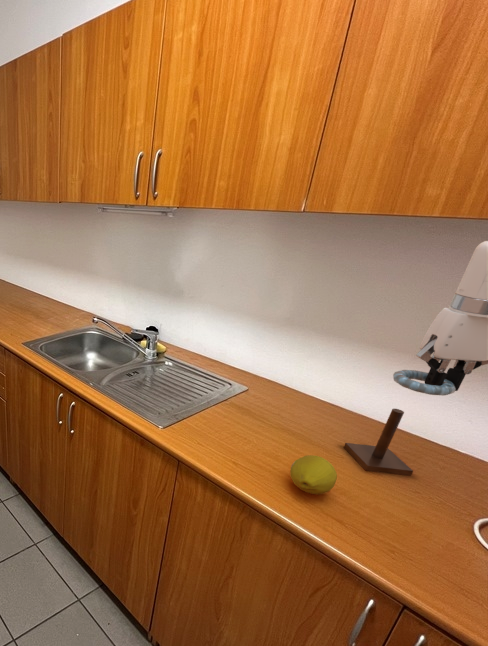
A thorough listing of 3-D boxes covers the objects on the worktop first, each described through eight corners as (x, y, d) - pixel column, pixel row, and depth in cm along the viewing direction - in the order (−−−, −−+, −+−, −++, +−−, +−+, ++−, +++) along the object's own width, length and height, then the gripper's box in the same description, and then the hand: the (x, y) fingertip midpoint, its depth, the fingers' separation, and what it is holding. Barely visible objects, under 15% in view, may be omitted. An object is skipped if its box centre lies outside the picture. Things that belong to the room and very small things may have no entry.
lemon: (300, 470, 94) (310, 443, 91) (339, 491, 88) (351, 462, 85) (274, 486, 90) (284, 457, 87) (313, 509, 83) (325, 480, 80)
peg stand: (384, 451, 100) (407, 402, 94) (410, 476, 92) (437, 423, 86) (343, 447, 102) (363, 399, 96) (365, 470, 94) (388, 419, 88)
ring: (429, 378, 89) (433, 370, 88) (465, 398, 80) (470, 390, 79) (381, 374, 90) (384, 367, 90) (412, 395, 82) (415, 386, 81)
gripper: (511, 301, 79) (470, 382, 86) (416, 298, 82) (383, 376, 90) (551, 313, 73) (503, 399, 80) (446, 309, 76) (408, 392, 83)
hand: (440, 386), depth 85 cm, fingers closed on ring, 2 cm apart
